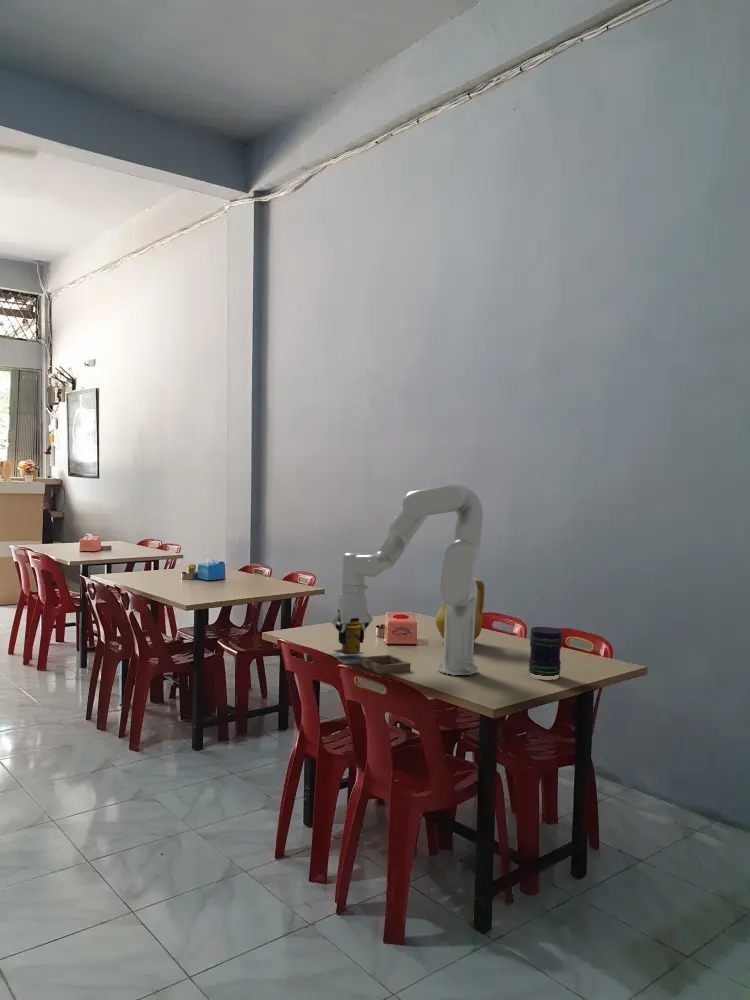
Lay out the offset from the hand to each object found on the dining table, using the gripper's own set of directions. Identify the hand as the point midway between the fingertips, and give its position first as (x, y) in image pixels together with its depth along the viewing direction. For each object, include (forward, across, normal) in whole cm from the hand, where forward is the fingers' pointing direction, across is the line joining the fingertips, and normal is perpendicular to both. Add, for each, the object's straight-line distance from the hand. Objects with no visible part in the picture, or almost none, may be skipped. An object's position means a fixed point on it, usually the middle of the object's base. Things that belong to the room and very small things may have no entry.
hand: (351, 642), depth 259 cm
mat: (+5, 0, 0) cm, 5 cm away
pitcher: (+6, -49, -6) cm, 50 cm away
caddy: (+6, -5, +15) cm, 17 cm away
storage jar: (+6, -48, +42) cm, 64 cm away
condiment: (+4, +1, 0) cm, 4 cm away
